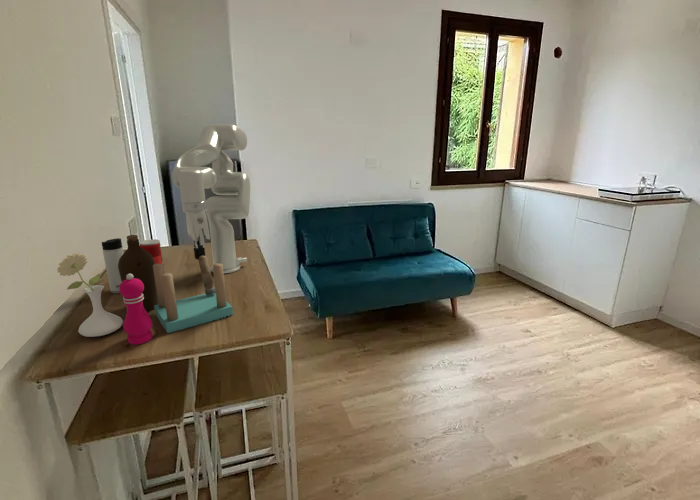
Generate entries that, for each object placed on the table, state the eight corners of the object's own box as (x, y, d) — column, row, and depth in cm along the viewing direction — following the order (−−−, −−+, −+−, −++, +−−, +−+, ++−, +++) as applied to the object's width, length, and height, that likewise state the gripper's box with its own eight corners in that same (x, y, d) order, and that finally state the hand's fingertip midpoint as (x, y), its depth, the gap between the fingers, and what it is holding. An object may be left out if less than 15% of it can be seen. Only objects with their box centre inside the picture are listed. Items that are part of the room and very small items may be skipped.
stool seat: (216, 298, 139) (211, 253, 134) (233, 315, 127) (228, 265, 122) (155, 313, 128) (147, 264, 123) (167, 333, 116) (159, 279, 111)
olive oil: (167, 303, 136) (157, 233, 128) (142, 316, 126) (129, 241, 119) (145, 298, 139) (134, 230, 132) (118, 311, 130) (104, 238, 123)
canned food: (166, 264, 175) (163, 240, 172) (149, 269, 169) (145, 245, 166) (156, 261, 179) (153, 238, 176) (139, 266, 173) (135, 242, 170)
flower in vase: (117, 318, 125) (103, 243, 117) (129, 331, 117) (114, 251, 110) (68, 332, 116) (50, 252, 109) (77, 347, 108) (58, 261, 101)
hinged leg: (214, 293, 137) (205, 255, 137) (216, 292, 134) (207, 254, 135) (205, 295, 135) (196, 257, 136) (207, 294, 133) (198, 255, 133)
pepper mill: (133, 333, 116) (121, 269, 110) (158, 332, 116) (148, 269, 110) (121, 346, 109) (108, 278, 103) (148, 345, 109) (137, 278, 103)
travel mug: (122, 294, 143) (112, 241, 137) (106, 293, 144) (96, 240, 138) (134, 288, 149) (125, 237, 143) (119, 286, 150) (110, 236, 144)
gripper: (212, 208, 128) (218, 261, 134) (199, 202, 140) (204, 251, 145) (188, 211, 124) (195, 266, 129) (177, 204, 136) (183, 255, 141)
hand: (200, 258), depth 137 cm, fingers closed
